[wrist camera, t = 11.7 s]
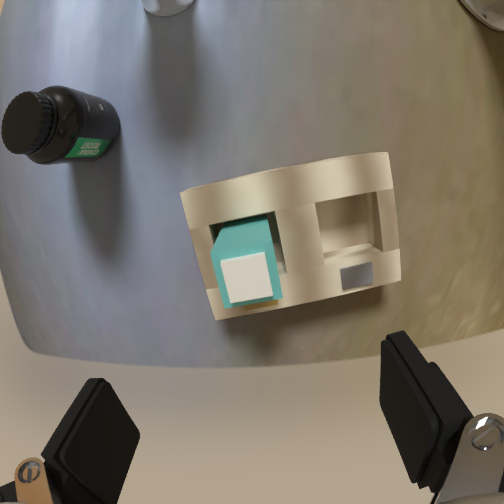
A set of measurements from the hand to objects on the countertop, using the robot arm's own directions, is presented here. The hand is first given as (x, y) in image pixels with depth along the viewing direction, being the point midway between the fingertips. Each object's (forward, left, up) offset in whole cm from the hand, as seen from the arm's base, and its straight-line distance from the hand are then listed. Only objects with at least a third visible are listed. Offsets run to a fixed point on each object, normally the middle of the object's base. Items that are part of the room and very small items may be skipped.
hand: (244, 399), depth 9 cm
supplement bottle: (+14, -15, -23) cm, 30 cm away
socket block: (-4, 0, -22) cm, 23 cm away
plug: (0, 0, -21) cm, 21 cm away
